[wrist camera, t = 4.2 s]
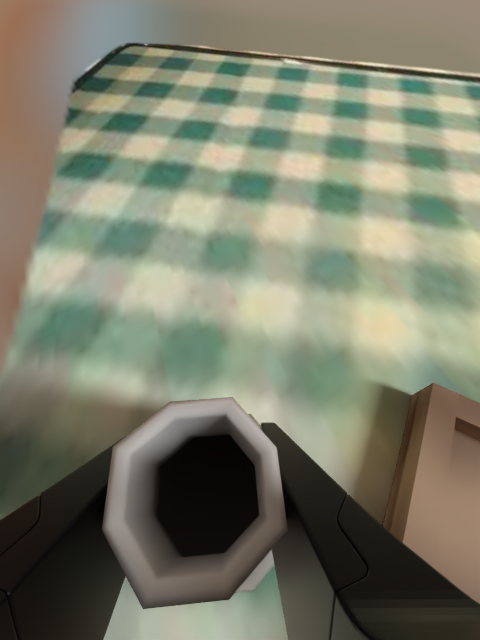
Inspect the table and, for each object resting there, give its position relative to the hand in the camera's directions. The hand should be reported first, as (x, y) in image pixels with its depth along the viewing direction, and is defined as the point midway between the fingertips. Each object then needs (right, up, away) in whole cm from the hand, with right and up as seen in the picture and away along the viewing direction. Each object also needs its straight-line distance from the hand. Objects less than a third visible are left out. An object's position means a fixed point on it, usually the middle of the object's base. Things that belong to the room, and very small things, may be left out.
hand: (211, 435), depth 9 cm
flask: (0, -5, +5) cm, 7 cm away
